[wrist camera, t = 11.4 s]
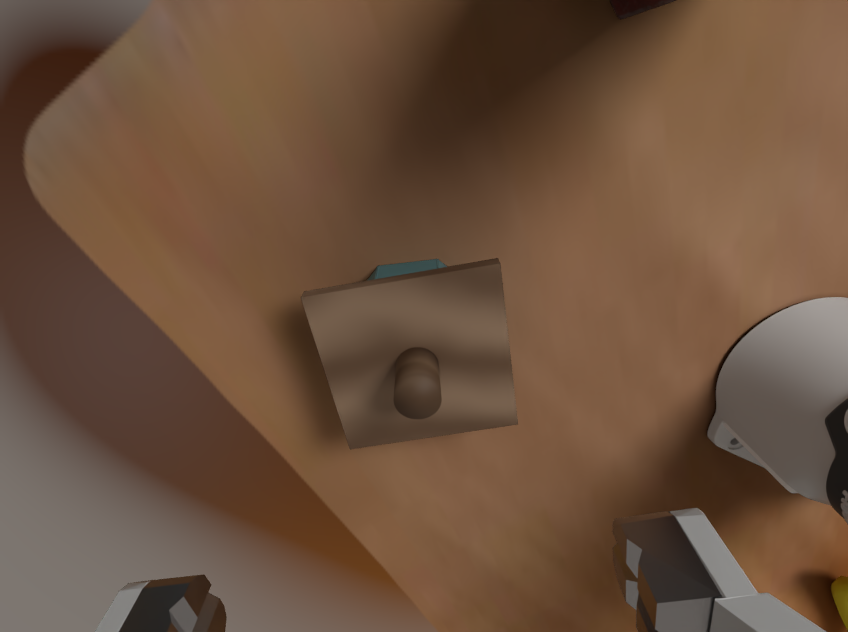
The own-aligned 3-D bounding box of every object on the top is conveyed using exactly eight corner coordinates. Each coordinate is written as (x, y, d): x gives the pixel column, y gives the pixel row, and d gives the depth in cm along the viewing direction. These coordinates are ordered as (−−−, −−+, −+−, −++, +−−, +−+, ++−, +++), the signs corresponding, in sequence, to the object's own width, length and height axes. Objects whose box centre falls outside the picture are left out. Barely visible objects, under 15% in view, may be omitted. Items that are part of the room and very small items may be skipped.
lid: (515, 415, 36) (529, 462, 31) (351, 440, 36) (342, 489, 32) (497, 258, 30) (512, 287, 25) (304, 291, 31) (284, 325, 26)
